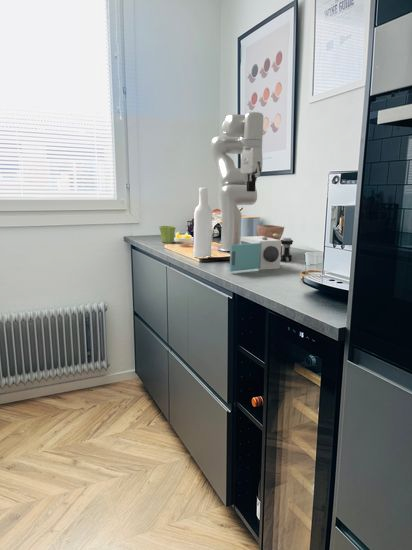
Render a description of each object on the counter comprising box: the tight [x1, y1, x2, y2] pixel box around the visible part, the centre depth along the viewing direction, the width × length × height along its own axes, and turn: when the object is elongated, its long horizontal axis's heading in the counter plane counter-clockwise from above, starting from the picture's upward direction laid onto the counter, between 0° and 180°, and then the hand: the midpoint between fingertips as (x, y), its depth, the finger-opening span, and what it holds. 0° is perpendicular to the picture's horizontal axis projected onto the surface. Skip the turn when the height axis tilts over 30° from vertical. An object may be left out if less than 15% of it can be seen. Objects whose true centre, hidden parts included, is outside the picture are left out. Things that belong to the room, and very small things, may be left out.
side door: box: [229, 243, 261, 272], centre depth 152 cm, size 14×1×10 cm, turn 121°
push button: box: [280, 237, 294, 263], centre depth 175 cm, size 7×5×10 cm
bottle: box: [192, 187, 213, 257], centre depth 179 cm, size 8×8×30 cm
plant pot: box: [158, 225, 177, 244], centre depth 225 cm, size 9×9×9 cm
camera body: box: [240, 235, 282, 271], centre depth 163 cm, size 16×10×12 cm, turn 26°
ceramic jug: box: [256, 224, 285, 255], centre depth 185 cm, size 18×14×14 cm
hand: (250, 191), depth 170 cm, fingers closed
